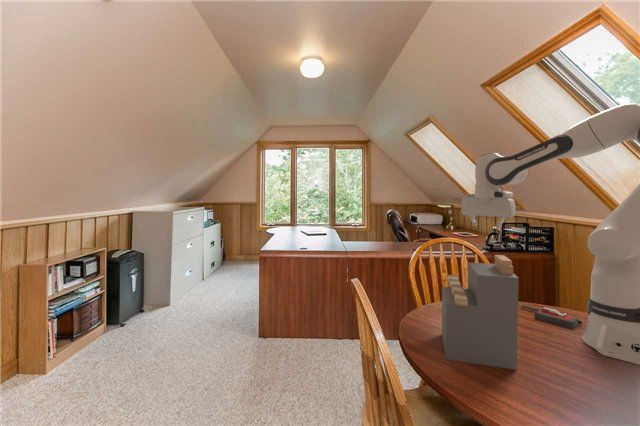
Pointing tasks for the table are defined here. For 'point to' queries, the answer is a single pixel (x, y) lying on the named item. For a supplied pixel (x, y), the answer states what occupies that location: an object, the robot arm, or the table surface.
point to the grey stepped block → (483, 317)
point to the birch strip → (457, 291)
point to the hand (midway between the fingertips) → (486, 227)
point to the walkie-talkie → (555, 317)
